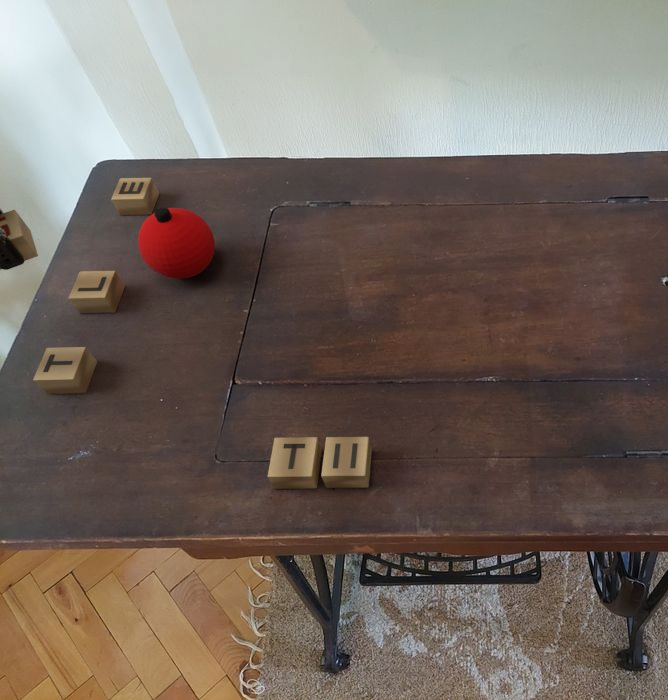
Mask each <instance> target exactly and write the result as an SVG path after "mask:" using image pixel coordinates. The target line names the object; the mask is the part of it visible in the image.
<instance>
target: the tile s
mask: <svg viewBox="0 0 668 700" xmlns="http://www.w3.org/2000/svg"><path fill="white" fill-rule="evenodd" d="M0 226H1V228H2V229H4V231H5V232H6V235H7V236H8V238H9V239H10V241H11V242H12V243H13V244H14V246H15V247H16V248H17V249H18V251H19V252H20V253H21V254H22V256H23V258H24V262H26V261H29V260H32V259H34V258H37V257H39V253H38V251H37V247H36V244H35V241H34V238H33V235H32V231H31V229H30V228H29V226H28V225H27V224H26V222H25V221H24V220H23V218H22V217H21V216H20V214H19V213H18V212H17V210H16V209H11V210H8V211H6V212H3V214H0ZM1 270H2V269H1V268H0V271H1Z"/></svg>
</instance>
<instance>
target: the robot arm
mask: <svg viewBox="0 0 668 700" xmlns="http://www.w3.org/2000/svg"><path fill="white" fill-rule="evenodd" d="M3 213H4V211H3V210H2V209H1V208H0V214H3ZM24 263H25V261H24V258H23V256H22V254H21V253H20V252H19V251H18V249H17V248H16V247H15V246H14V244H13V243H12V242H11V241H10V239H9V238H8V236H7V235H6V232H5V231H4V229H2V228H1V226H0V268H1V270H3V271H7V270H8V271H9V270H11V269H14V268H16V267H19V266H22V265H24Z"/></svg>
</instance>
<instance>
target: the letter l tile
mask: <svg viewBox="0 0 668 700" xmlns="http://www.w3.org/2000/svg"><path fill="white" fill-rule="evenodd" d="M125 289H126V284H125V283H124V282H123V280H122V279H121V277H120V276H119V273H118V272H117V271H116V270H87V271H86V270H85V271H84V270H83V271H79V273H78V275H77V277H76V279H75V282H74V284H73V287H72V289H71V292H70V293H69V296H68V300H69V301H70V302H71V304H72V305H73V306H74V308H75V309H76V310H77V311H78V313H79V314H107V313H109V314H112V313H113V314H115V313H116V312H117V310H118V308H119V304H120V302H121V298H122V296H123V293H124V291H125Z"/></svg>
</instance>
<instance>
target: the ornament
mask: <svg viewBox="0 0 668 700" xmlns="http://www.w3.org/2000/svg"><path fill="white" fill-rule="evenodd" d="M137 243H138V250H139V252H140V255H141V257H142V259H143V261H144V262H145V263H146V265H147V266H148V267H149V268H150V269H152V270H153V271H154V272H155V273H157V274H159V275H161V276H163V277H166V278H170V279H175V280H176V279H178V280H179V279H180V280H181V279H182V280H183V279H188V278H192V277H195V276H197V275H199V274H200V273H202V272H203V271H204V270H205V269H206V268H207V267H208V266H209V265H210V264H211V262H212V260H213V258H214V254H215V251H216V249H215V248H216V241H215V238H214V233H213V231H212V229H211V227H210V226H209V224H208V222H207V221H205V220H204V219H203V218H202V217H201V216H200V215H198V214H197V213H195V212H194V211H191V210H190V209H186V208H182V207H158V208H157V209H156V210H155V211H154V212H153V213H152V214H151V215H148V217H147V218H145V220H144V221H143V223H142V225H141V227H140V229H139V233H138V237H137Z"/></svg>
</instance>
